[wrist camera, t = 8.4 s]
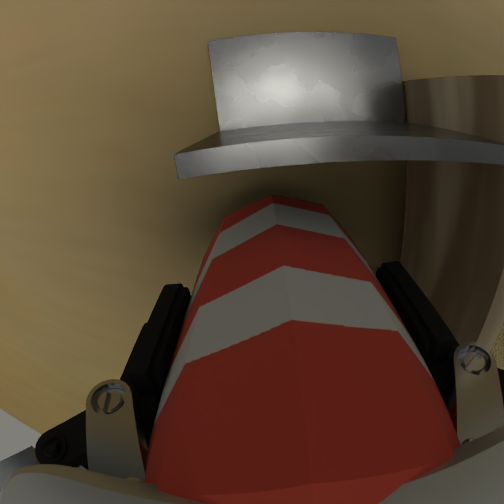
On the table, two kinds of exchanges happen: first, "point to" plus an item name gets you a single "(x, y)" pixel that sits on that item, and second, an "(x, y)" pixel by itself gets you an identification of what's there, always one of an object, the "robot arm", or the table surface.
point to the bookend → (316, 107)
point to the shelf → (458, 208)
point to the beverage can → (293, 373)
